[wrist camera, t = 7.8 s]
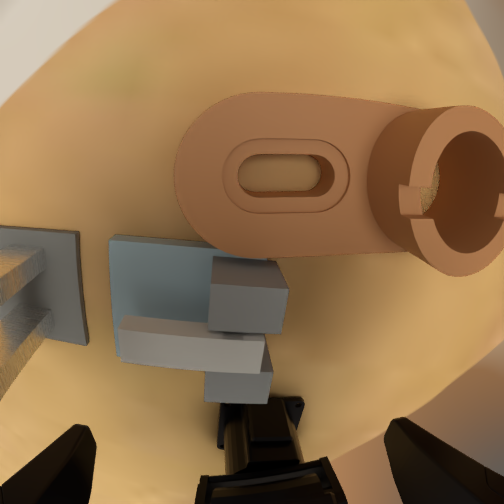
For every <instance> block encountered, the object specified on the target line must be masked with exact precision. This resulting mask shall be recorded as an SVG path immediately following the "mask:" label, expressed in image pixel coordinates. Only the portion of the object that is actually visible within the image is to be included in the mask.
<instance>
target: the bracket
mask: <svg viewBox="0 0 504 504" xmlns="http://www.w3.org/2000/svg"><path fill="white" fill-rule="evenodd" d="M255 154H308V155H310V156H312V157H314V158H315V159H316V160H317V161H318V162H319V164H320V167H321V179H320V181H319V183H318V184H317V185H316V186H315V187H314V188H313V189H311V190H309V191H281V192H251V191H248V190H245V189H244V188H242V187H241V186H240V184H239V182H238V170H239V167H240V165H241V164H242V162H243V161H244V160H245V159H246V158H248V157H249V156H252V155H255ZM437 162H438V166H439V173H440V180H439V187H438V191H437V195H436V197H435V199H434V201H433V203H432V205H431V206H430V207H429V209H428V210H427V211H426V212H425V213H424V214H423V212H422V207H421V197H420V188H421V187H426V188H431V186H432V179H433V174H434V170H435V167H436V164H437ZM174 186H175V192H176V196H177V200H178V203H179V206H180V208H181V210H182V212H183V214H184V216H185V218H186V220H187V221H188V223H189V224H190V225H191V227H192V228H193V229H194V230H195V231H196V232H197V234H199V235H200V236H201V237H202V238H203V239H204V240H205V241H207V242H208V243H209V244H211V245H212V246H214V247H216V248H217V249H219V250H222V251H224V252H226V253H229V254H232V255H235V256H239V257H244V258H284V257H306V256H328V255H349V254H369V253H389V252H410V253H412V254H413V255H415V256H416V257H418V258H419V259H421V260H423V261H424V262H426V263H427V264H429V265H431V266H432V267H434V268H435V269H437V270H438V271H440V272H442V273H444V274H447V275H450V276H455V277H462V276H468V275H472V274H474V273H477V272H479V271H480V270H482V269H484V268H485V267H486V266H488V265H489V264H490V263H491V262H492V261H493V260H494V259H495V258H496V257H497V256H498V255H499V254H500V252H501V251H502V250H503V248H504V127H503V126H502V125H501V124H500V123H499V121H498V120H497V119H496V118H495V117H493V116H492V115H491V114H489V113H488V112H487V111H485V110H483V109H481V108H478V107H475V106H452V107H441V108H432V109H423V110H422V109H417V108H412V107H406V106H401V105H395V104H389V103H383V102H377V101H370V100H362V99H354V98H346V97H336V96H326V95H313V94H298V93H274V92H252V93H244V94H239V95H235V96H232V97H229V98H227V99H224V100H222V101H220V102H218V103H216V104H214V105H213V106H211V107H210V108H209V109H207V110H206V111H205V112H203V113H202V114H201V115H200V116H199V117H198V118H197V119H196V120H195V121H194V122H193V124H192V125H191V126H190V128H189V129H188V130H187V132H186V134H185V136H184V137H183V139H182V141H181V144H180V146H179V149H178V152H177V155H176V160H175V166H174Z"/></svg>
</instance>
